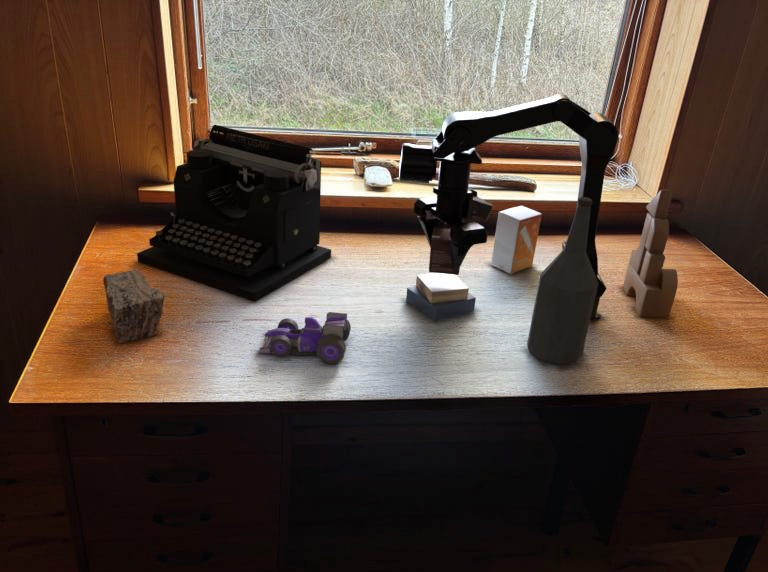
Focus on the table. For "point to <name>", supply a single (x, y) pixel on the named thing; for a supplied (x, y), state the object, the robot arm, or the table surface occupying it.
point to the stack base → (439, 305)
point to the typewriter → (242, 215)
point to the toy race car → (310, 338)
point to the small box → (515, 239)
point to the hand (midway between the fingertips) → (445, 261)
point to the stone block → (133, 305)
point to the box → (441, 252)
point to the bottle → (565, 298)
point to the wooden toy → (652, 263)
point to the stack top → (441, 287)
